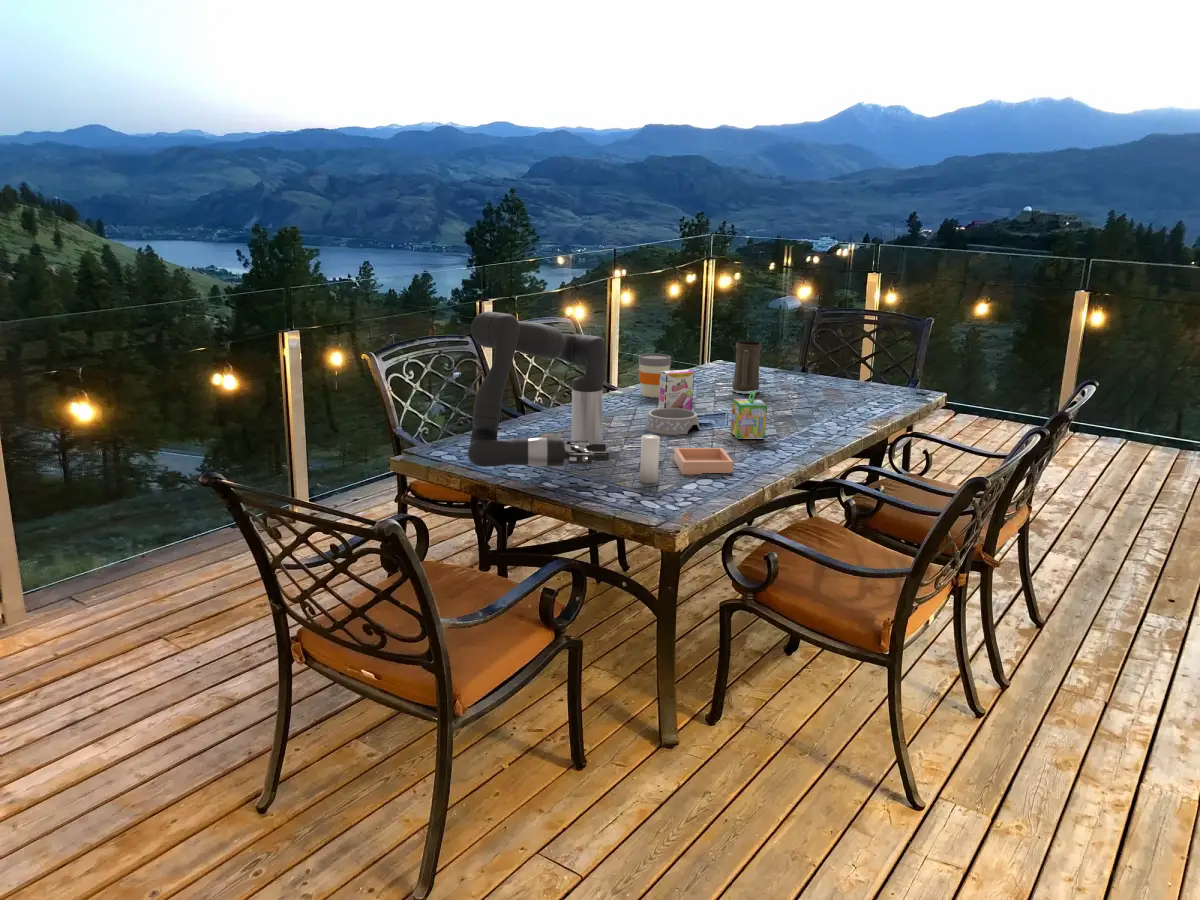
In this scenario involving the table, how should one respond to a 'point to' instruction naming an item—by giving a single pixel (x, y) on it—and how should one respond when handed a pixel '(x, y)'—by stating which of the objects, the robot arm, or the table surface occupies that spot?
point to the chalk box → (748, 417)
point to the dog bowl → (671, 421)
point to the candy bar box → (676, 389)
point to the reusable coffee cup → (652, 372)
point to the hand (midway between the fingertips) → (607, 451)
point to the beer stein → (747, 366)
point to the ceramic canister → (649, 458)
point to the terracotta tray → (702, 460)
